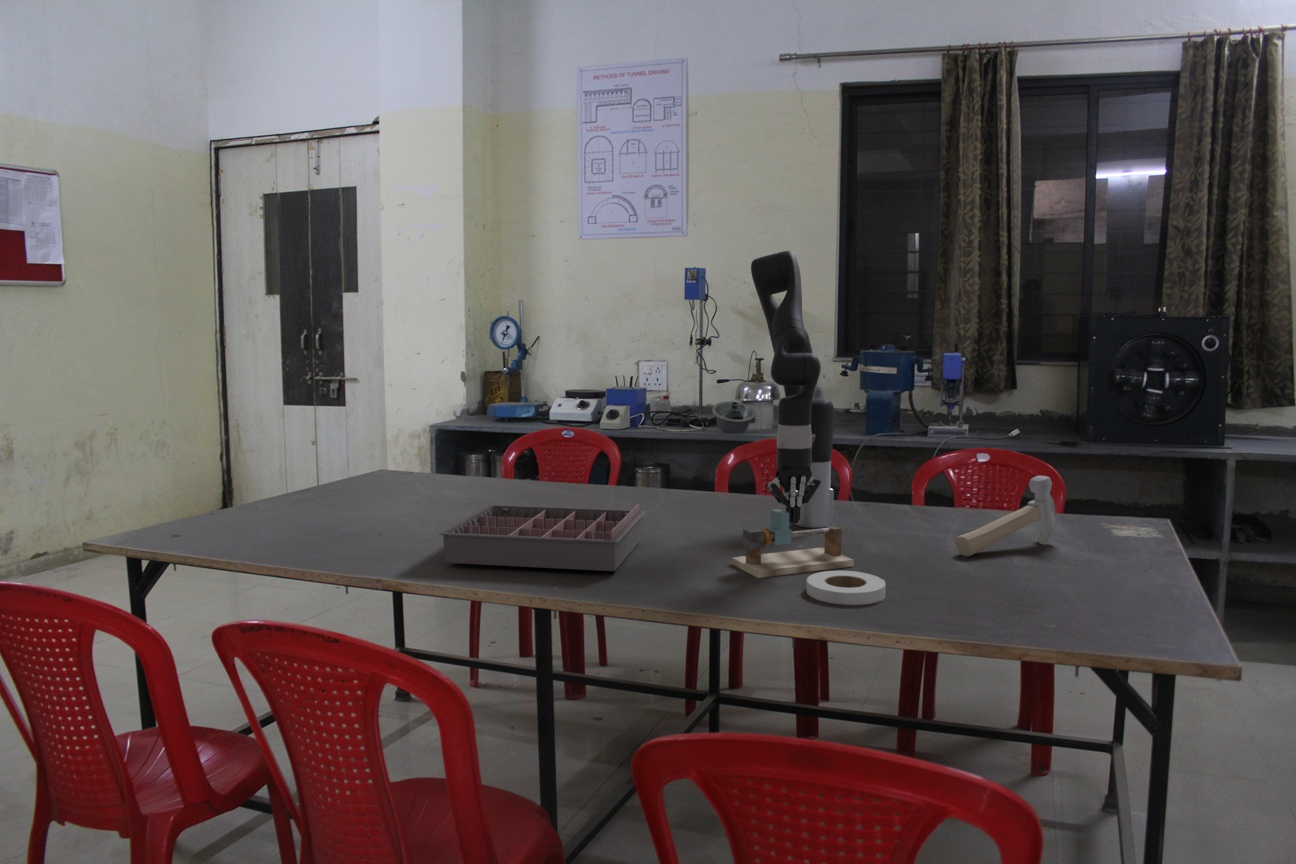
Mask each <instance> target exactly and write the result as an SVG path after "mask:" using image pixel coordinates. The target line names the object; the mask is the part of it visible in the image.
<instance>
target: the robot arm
mask: <svg viewBox="0 0 1296 864" xmlns="http://www.w3.org/2000/svg"><path fill="white" fill-rule="evenodd" d="M750 273H751V278H752V281H753V284H754V288H755V290H756V293H757V298H758V299H759V302H760V305H761V308H762V311H763V314H764V317H765V322H766V325H767V329H768V332H769V336H770V342H771V347H772V350H773V353H774V354H773V357H772V362H771V367H770V376H771V379H772V381H773V382H774V383H775V384H776V385H778V386H783V389H784V397H781V398H780V399H779V401H778V417H777V418H778V424H777V425H778V426H777V433H776V466H777V467H776V468H777V470H776V472H775V477H774V478H773V479H772V480H771V481H767V482H766V487H767V489H768V490H769V492H770V493H771V495H772V496H773V497H774V499H775V500H776V501H777V503H779V504H781V505H784V506H785V512H788V513H789V524H791V525H796V526H798V527H804V528H811V529H812V528H813V529H821V528H825V526H831V525H833V526H834V493H835V491H834V489H833V488H831V481H832V480H831V478H832V476H831V474H832V452H833V445H834V433H835V432H834V431H835V430H834V429H835V417H836V416H835V407H834V404H833V402H832V401H831V400H829V399H824V398H821V399H820V398H814V395H815V390H816V387H817V384H818V381H819V378H820V375H821V369H822V368H821V361H820V359H819V357H818V356H817V355H816V354H815V353H813V349H812V345H811V340H810V336H809V333H808V331H807V330H806V329H805V325H804V324H805V323H804V319H803V295H802V294H803V293H802V290H803V289H802V277H801V271H800V267H799V263H798V259H797V257H796V255H795V253H794V252H792V251H791V250H784V251H783V250H782V251H779V252H777V253H775V252H774V253H772V254H768V255H767V254H766V255H763V256H761V257H758V258H755V259H753V260H752V261H751V264H750ZM783 292H785V294H784V295H785V296H784V297H783V300H781V303H780V304H779V303H778V301H777V300H776V299H775V297H774V296H773V295H777V294H780V293H783ZM813 435H814V440H813ZM780 488H782V491H781V489H780Z"/></svg>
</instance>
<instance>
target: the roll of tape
mask: <svg viewBox="0 0 1296 864" xmlns="http://www.w3.org/2000/svg"><path fill="white" fill-rule="evenodd" d="M805 588H806V591H805V592H806V594H807V595H808V596H809V597H811V598H812V599H814V600H817V601H820V602H825V603H829V604H837V605H845V606H847V605H848V606H857V605H861V606H862V605H871V604H876V603H879V602H881V601H884V599H885V598H886V588H887V587H886V581H885V579H884V578H881V577H879V576H877V575H873V574H871V573H867V572H861V571H853V570H824V571H820V572H816V573H813V574H811V575H810V574H809V576H808V577H807V578H806V587H805Z"/></svg>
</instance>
